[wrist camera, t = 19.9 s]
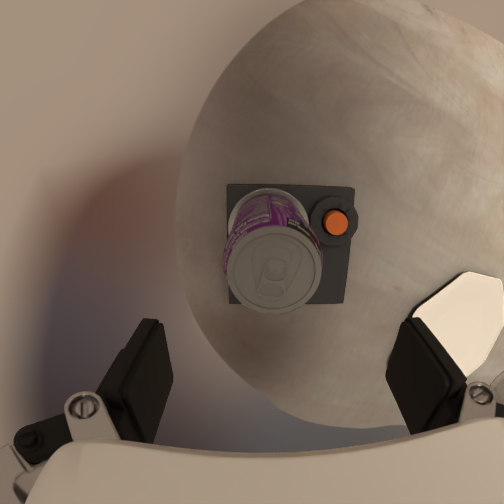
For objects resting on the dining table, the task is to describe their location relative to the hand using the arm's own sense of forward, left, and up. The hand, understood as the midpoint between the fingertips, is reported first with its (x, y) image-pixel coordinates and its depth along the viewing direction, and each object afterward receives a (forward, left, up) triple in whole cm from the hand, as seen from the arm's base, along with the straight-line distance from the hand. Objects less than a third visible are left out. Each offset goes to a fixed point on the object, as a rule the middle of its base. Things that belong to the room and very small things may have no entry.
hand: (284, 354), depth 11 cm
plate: (+32, -19, -24) cm, 44 cm away
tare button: (+7, 0, -21) cm, 23 cm away
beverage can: (0, 0, -21) cm, 21 cm away
